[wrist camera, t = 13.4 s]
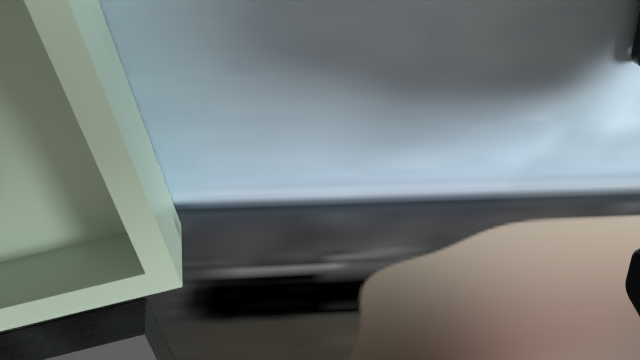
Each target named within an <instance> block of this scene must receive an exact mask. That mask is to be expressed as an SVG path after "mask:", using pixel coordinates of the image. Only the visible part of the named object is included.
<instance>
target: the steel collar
mask: <svg viewBox="0 0 640 360" xmlns="http://www.w3.org/2000/svg"><path fill="white" fill-rule="evenodd" d="M0 360H174V358H173V356H172V354H171V352H170V349H169V347H168V345H167V343H166V341H165V339H164V336H163V334H162V332H161V330H160V328H159V326H158V323H157V321H156V319H155V317H154V315H153V312H152V310H151V308H150V306H149V304H148V302H147V299H143V300H139V301H135V302H130V303H126V304H122V305H118V306H114V307H110V308H106V309H102V310H98V311H94V312H90V313H86V314H82V315H77V316H73V317H69V318H65V319H61V320H57V321H53V322H49V323H45V324H41V325H37V326H33V327H29V328H24V329H20V330H16V331H12V332H8V333H4V334H0Z"/></svg>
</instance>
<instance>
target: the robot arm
mask: <svg viewBox="0 0 640 360" xmlns="http://www.w3.org/2000/svg"><path fill="white" fill-rule="evenodd" d="M632 60H633V62H635V63H636V64H638V65H639V66H640V14H639V19H638V24H637V29H636V34H635V40H634V45H633V50H632ZM626 291H627V294H628V296H629V299H630V300H631V302H632V304H633V305H634V307H635V309H636V311H637V312H638V314H639V316H640V249H637V250H636V251H635V252H634V253H633V255H632V258H631V262H630V266H629V270H628V274H627V278H626Z"/></svg>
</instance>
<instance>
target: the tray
mask: <svg viewBox="0 0 640 360" xmlns="http://www.w3.org/2000/svg"><path fill="white" fill-rule="evenodd" d="M179 287H182V245H181V223H180V221H179V218H178V215H177V212H176V210H175V207H174V204H173V202H172V199H171V196H170V193H169V191H168V188H167V185H166V182H165V180H164V177H163V174H162V172H161V169H160V166H159V163H158V161H157V158H156V155H155V153H154V150H153V147H152V144H151V142H150V139H149V136H148V134H147V131H146V128H145V125H144V123H143V120H142V117H141V114H140V112H139V109H138V106H137V104H136V101H135V98H134V95H133V93H132V90H131V87H130V85H129V82H128V79H127V76H126V74H125V71H124V68H123V66H122V63H121V60H120V57H119V55H118V52H117V49H116V47H115V44H114V41H113V38H112V36H111V33H110V30H109V27H108V25H107V22H106V19H105V17H104V14H103V11H102V8H101V6H100V3H99V0H0V331H4V330H8V329H12V328H16V327H20V326H24V325H28V324H32V323H36V322H41V321H45V320H49V319H53V318H57V317H61V316H65V315H69V314H73V313H77V312H81V311H85V310H90V309H94V308H98V307H102V306H106V305H110V304H114V303H118V302H122V301H126V300H130V299H134V298H139V297H143V296H147V295H151V294H155V293H159V292H163V291H167V290H171V289H175V288H179Z"/></svg>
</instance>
